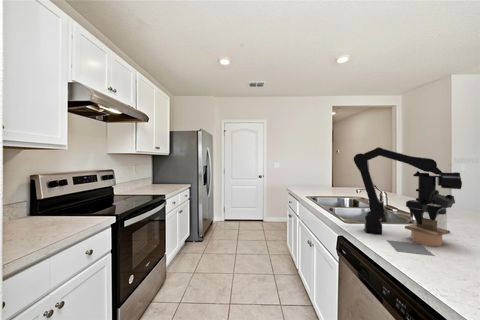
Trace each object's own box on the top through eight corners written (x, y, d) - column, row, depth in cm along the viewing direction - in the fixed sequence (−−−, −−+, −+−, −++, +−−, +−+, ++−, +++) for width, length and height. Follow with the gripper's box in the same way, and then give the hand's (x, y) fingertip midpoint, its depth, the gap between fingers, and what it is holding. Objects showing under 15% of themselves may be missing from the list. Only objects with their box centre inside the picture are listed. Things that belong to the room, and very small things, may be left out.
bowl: (417, 245, 89) (417, 233, 89) (407, 236, 99) (407, 225, 99) (447, 248, 86) (447, 236, 86) (434, 239, 96) (434, 228, 96)
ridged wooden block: (434, 236, 85) (434, 224, 85) (404, 228, 96) (404, 217, 96) (450, 233, 89) (450, 221, 89) (419, 225, 100) (419, 214, 100)
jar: (443, 235, 100) (443, 210, 100) (421, 230, 107) (421, 206, 107) (448, 231, 105) (448, 207, 105) (427, 227, 112) (427, 204, 112)
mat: (396, 252, 82) (397, 251, 82) (386, 240, 94) (386, 240, 94) (435, 257, 79) (435, 256, 79) (419, 244, 90) (419, 243, 90)
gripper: (437, 191, 81) (436, 231, 82) (463, 188, 88) (462, 226, 88) (405, 187, 92) (404, 223, 92) (431, 185, 99) (430, 218, 99)
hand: (426, 223), depth 92 cm, fingers open, 9 cm apart
